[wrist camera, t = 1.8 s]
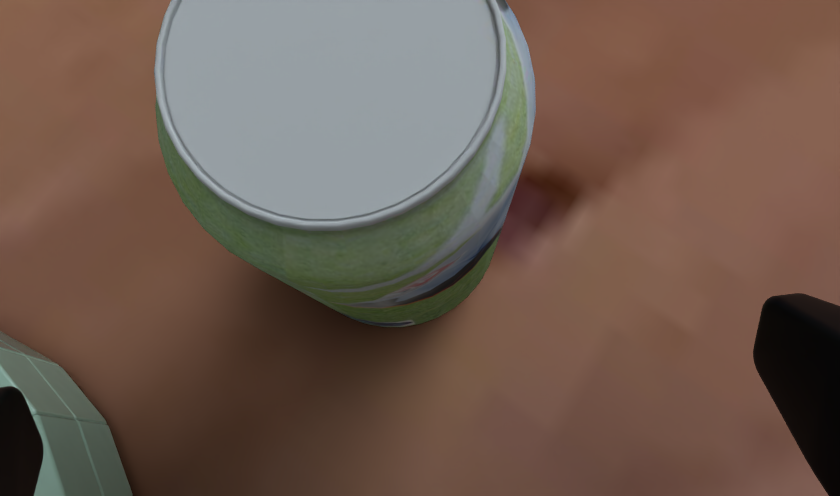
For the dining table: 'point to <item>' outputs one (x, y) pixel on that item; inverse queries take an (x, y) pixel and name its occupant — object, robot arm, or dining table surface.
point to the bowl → (63, 427)
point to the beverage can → (349, 141)
